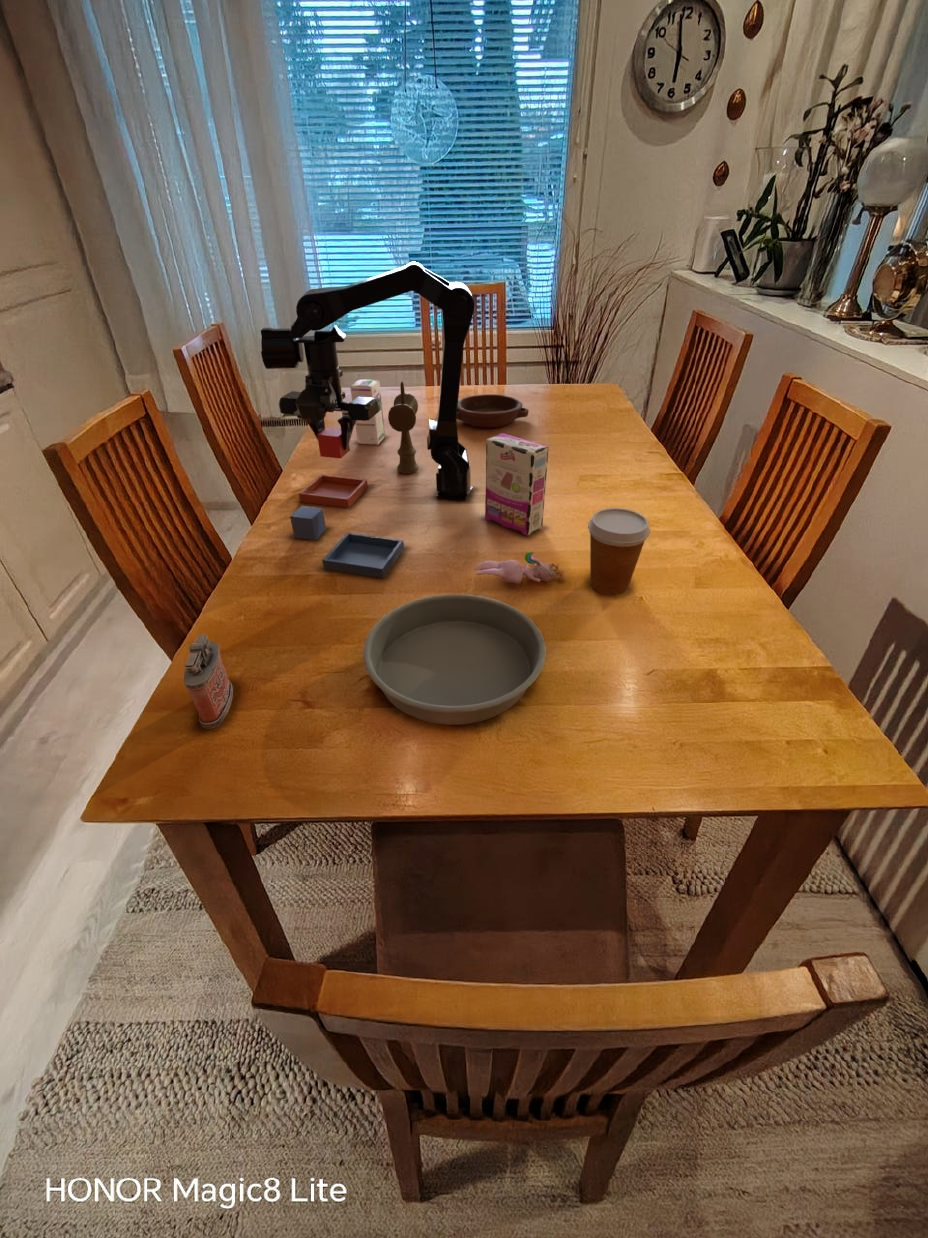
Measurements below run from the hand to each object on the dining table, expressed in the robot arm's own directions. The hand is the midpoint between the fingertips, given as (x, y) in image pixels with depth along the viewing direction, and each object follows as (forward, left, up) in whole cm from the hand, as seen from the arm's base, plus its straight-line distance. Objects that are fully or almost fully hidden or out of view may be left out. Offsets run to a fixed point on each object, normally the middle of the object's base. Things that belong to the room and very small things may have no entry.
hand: (334, 448), depth 119 cm
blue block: (-1, +16, -11) cm, 19 cm away
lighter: (-11, +61, -11) cm, 63 cm away
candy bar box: (-38, +2, -11) cm, 39 cm away
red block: (0, 0, -1) cm, 1 cm away
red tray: (+2, -1, -11) cm, 11 cm away
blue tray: (-15, +22, -11) cm, 29 cm away
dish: (-19, -55, -11) cm, 59 cm away
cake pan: (-39, +46, -11) cm, 61 cm away
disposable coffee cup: (-58, +19, -11) cm, 62 cm away
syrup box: (+7, -33, -11) cm, 36 cm away
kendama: (-9, -17, -11) cm, 22 cm away
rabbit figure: (-43, +22, -11) cm, 49 cm away
